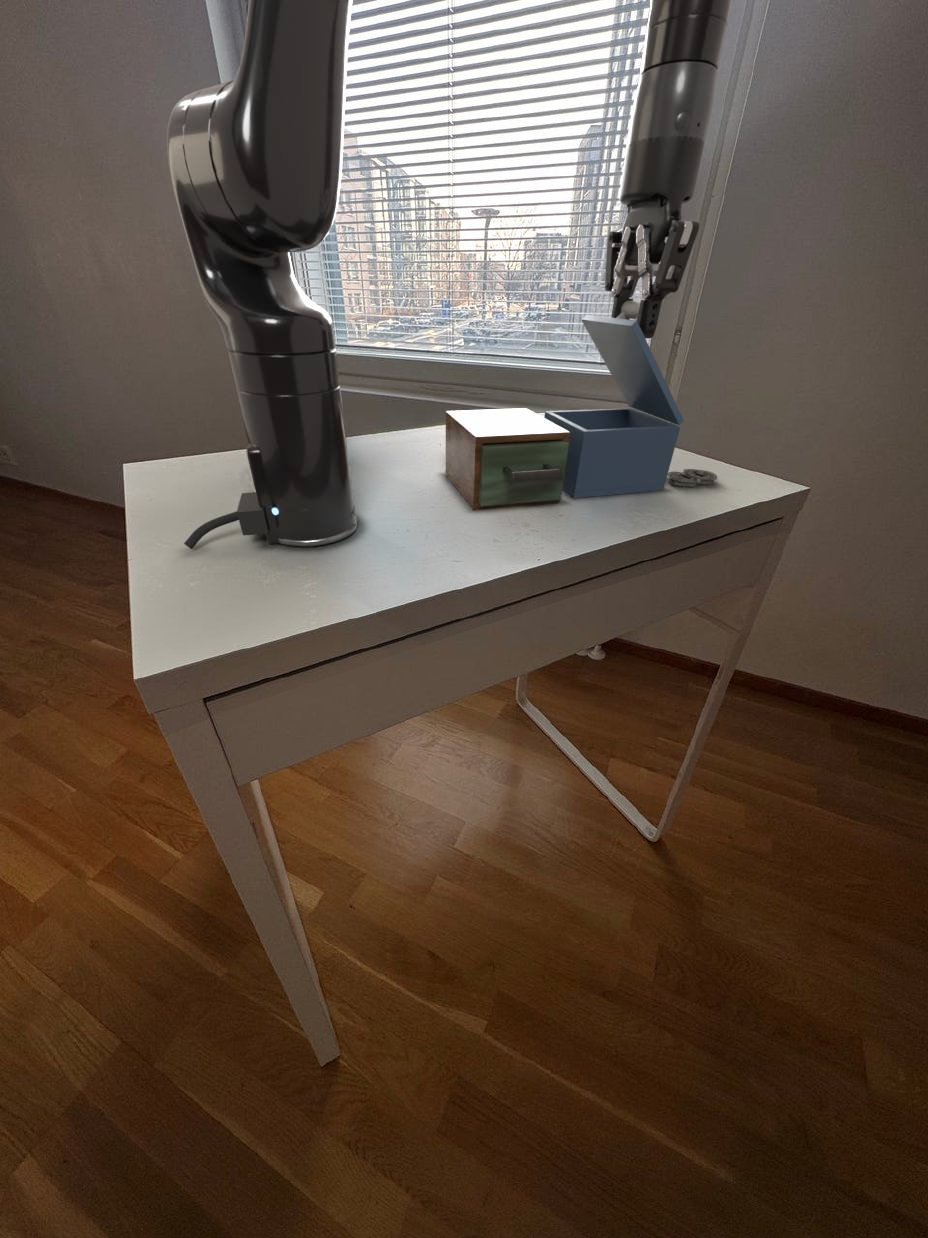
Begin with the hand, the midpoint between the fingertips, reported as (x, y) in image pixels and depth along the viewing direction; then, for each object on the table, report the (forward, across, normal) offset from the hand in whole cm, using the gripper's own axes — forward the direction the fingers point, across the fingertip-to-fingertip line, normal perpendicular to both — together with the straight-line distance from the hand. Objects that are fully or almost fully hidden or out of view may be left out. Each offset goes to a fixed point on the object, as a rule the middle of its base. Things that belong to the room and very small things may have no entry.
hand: (630, 335), depth 58 cm
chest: (+18, 0, +1) cm, 18 cm away
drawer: (+17, -4, +16) cm, 23 cm away
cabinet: (+18, 0, +16) cm, 24 cm away
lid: (+4, 0, -1) cm, 4 cm away
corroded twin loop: (+18, -4, -12) cm, 22 cm away
